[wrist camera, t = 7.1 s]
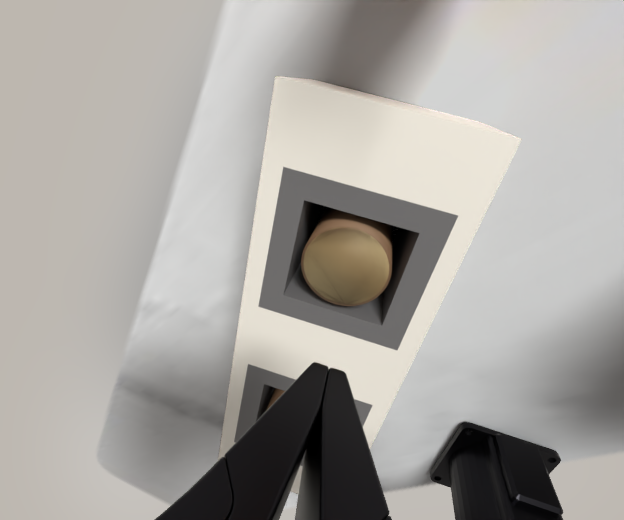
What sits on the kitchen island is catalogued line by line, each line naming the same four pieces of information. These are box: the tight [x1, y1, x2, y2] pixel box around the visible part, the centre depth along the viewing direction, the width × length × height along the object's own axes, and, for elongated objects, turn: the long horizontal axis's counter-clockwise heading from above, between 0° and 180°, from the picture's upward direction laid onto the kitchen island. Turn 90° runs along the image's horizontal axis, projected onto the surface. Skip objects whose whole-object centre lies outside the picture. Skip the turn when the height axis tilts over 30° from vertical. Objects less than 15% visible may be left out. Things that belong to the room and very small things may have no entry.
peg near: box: [301, 207, 393, 306], centre depth 16 cm, size 4×4×6 cm
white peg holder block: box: [218, 76, 522, 494], centre depth 19 cm, size 22×8×6 cm, turn 167°
